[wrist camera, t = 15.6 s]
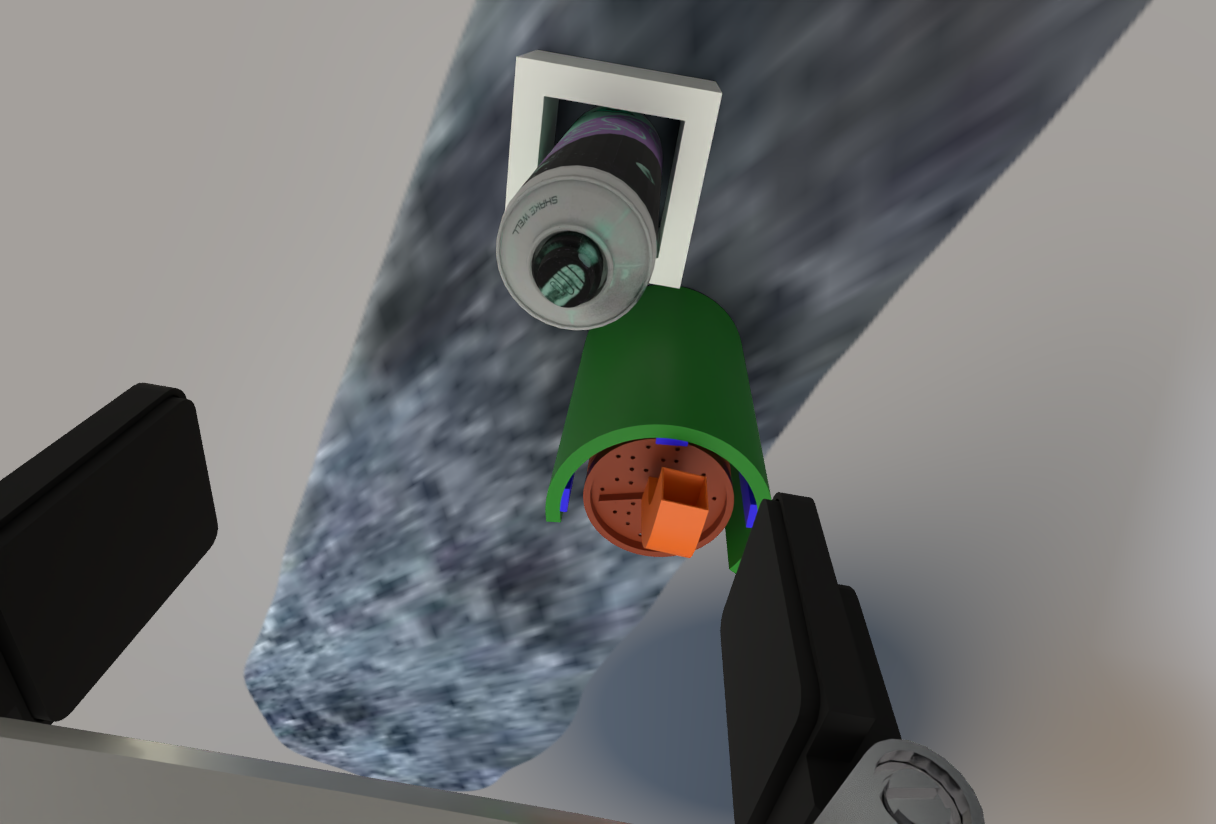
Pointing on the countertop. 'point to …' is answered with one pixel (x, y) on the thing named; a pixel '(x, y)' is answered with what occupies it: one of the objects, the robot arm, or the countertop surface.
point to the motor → (664, 430)
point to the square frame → (624, 89)
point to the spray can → (586, 223)
